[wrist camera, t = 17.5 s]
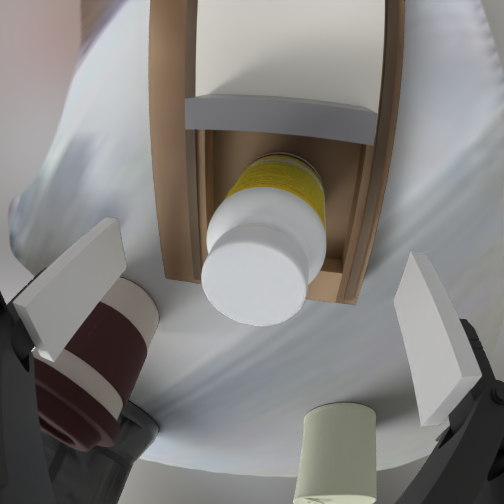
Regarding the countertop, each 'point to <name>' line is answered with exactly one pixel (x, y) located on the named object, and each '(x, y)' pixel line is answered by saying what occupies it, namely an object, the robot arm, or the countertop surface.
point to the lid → (289, 67)
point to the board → (254, 146)
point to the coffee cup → (96, 369)
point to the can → (338, 456)
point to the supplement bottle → (266, 241)
